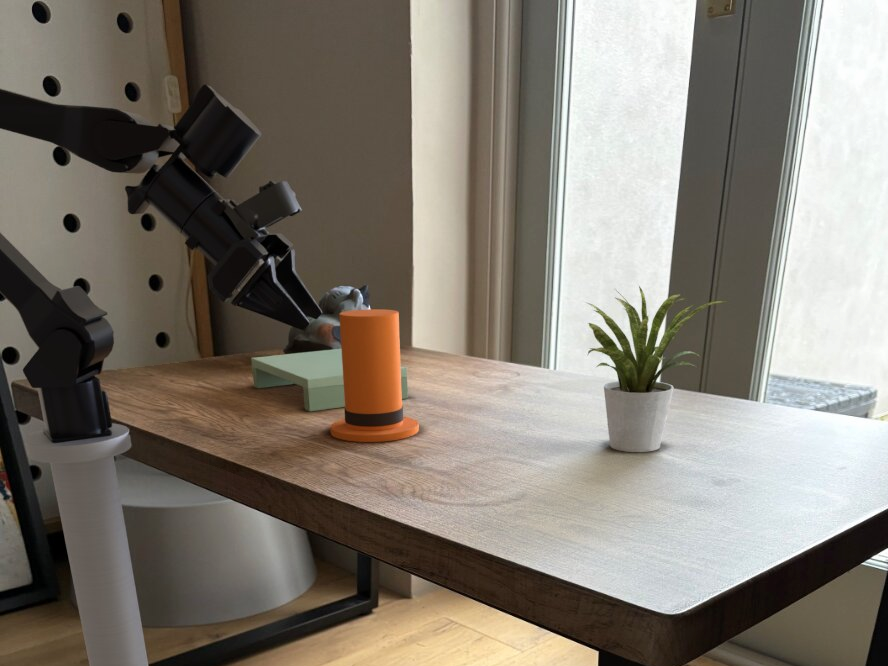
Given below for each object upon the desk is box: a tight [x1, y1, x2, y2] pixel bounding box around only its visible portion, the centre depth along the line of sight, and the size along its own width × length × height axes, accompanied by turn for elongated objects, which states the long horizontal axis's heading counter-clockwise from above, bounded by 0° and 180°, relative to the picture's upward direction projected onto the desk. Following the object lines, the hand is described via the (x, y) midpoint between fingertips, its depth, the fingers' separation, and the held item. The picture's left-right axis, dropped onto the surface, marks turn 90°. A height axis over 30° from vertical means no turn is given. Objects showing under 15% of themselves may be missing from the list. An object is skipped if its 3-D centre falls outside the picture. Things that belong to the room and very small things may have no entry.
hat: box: [329, 308, 420, 443], centre depth 103 cm, size 10×10×13 cm
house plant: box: [583, 285, 729, 453], centre depth 95 cm, size 14×14×16 cm
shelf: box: [250, 349, 409, 412], centre depth 126 cm, size 14×20×4 cm
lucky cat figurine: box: [282, 284, 371, 355], centre depth 149 cm, size 15×12×14 cm
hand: (313, 321), depth 101 cm, fingers open, 9 cm apart
